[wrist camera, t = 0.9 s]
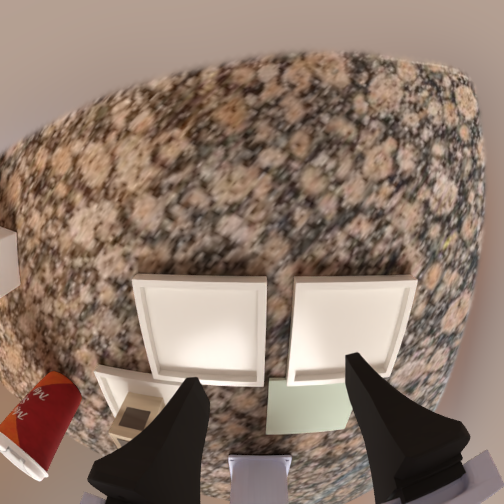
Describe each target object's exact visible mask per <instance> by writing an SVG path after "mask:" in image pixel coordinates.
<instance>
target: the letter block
mask: <svg viewBox="0 0 504 504" xmlns="http://www.w3.org/2000/svg"><path fill="white" fill-rule="evenodd" d="M164 407H165V403H164V399H163V398H161V397H154V396H148V395H142V394H137V393H132V392H128V394H127V396H126V397H125V399H124V401H123V403H122V405H121V407H120V409H119V411H118V413H117V415H116V417H115V419H114V421H113V424H112V426H111V428H110V430H109V432H108V433H109V435H110V436H111V438H112V439H113V441H114V443H115V444H116V446H117V447H118V449H119V448H121V447H122V446H124V445H125V444H127V443H128V442H129V441H131V440H132V439H133V438H134V437H136V436H137V435H138V434H139V433H141V432H142V431H143V430H144V429H145V428H146V427H147V426H148V425H149V424H150V423H151V422H152V421H153V420H154V419H155V418H156V416H157V415H158V414H159V413H160V412H161V411H162V409H163V408H164Z"/></svg>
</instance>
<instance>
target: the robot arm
mask: <svg viewBox="0 0 504 504" xmlns="http://www.w3.org/2000/svg"><path fill="white" fill-rule="evenodd" d="M345 385H346V389H347V393H348V397H349V400H350V403H351V406H352V408H353V411H354V414H355V416H356V419H357V422H358V424H359V427H360V429H361V432H362V435H363V438H364V441H365V446H366V450H367V454H368V459H369V464H370V469H371V475H372V481H373V487H374V495H375V503H376V504H480V503H482V502H483V501H485V500H486V499H488V498H489V497H491V496H492V495H493V494H495V493H496V492H497V491H498V490H500V489H501V488H503V486H504V483H503V481H502V479H501V476H500V474H499V472H498V470H497V468H496V466H495V464H494V461H493V459H492V457H491V456H490V453H489V452H488V450H485V451H483V452H482V453H480V454H479V455H477V456H475V457H474V458H473V459H471V460H469V461H467V462H466V463H465V464H464V465H462V463H461V460H462V458H463V457H462V455H461V451H462V450H463V449H464V448H465V446H466V445H467V444H468V442H469V440H470V434H469V433H468V431H467V429H466V428H465V426H464V425H463V424H462V422H460V421H457V420H454V419H450V418H447V417H444V416H442V415H439V414H437V413H434V412H432V411H430V410H428V409H426V408H424V407H422V406H421V405H419V404H417V403H415V402H414V401H412V400H410V399H409V398H407V397H406V396H405V395H403V394H402V393H400V392H399V391H398V390H396V389H395V388H394V387H393V386H392V385H390V384H389V383H388V382H387V381H386V380H385V379H384V378H382V377H381V376H380V375H379V374H378V373H377V372H376V371H375V370H374V369H373V368H372V367H371V366H370V365H369V364H368V363H367V361H366V360H365V359H364V358H363V357H362V356H361V355H360V353H358V352H355V353H351V354H347V355H345ZM209 412H210V401H209V399H208V397H207V395H206V393H205V391H204V389H203V387H202V385H201V383H200V381H199V379H198V377H188V378H186V379H185V380H184V382H183V383H182V384H181V386H180V387H179V388H178V390H177V391H176V392H175V394H174V395H173V397H172V398H171V399H170V400H169V402H168V403H167V404H166V406H165V407H164V408H163V409H162V411H161V412H160V413H159V414H158V415H157V416H156V418H155V419H154V420H153V421H152V422H151V423H150V424H149V425H148V426H147V427H146V428H145V429H144V430H143V431H142V432H141V433H139V434H138V435H137V436H136V437H134V438H133V439H132V440H131V441H129V442H128V443H127V444H125V445H124V446H122V447H121V448H119V449H117V450H116V451H114V452H112V453H111V454H109V455H107V456H105V457H103V458H101V459H99V460H96V461H95V462H94V464H93V466H92V469H91V471H90V474H89V476H88V478H87V479H88V482H89V483H90V484H91V485H92V486H93V487H95V488H96V489H98V490H99V491H100V492H102V493H104V494H105V495H107V499H106V500H105V499H103V498H100V497H98V496H95V495H92V494H89V493H87V492H84V494H83V497H82V499H81V502H80V504H200V474H201V460H202V453H203V448H204V443H205V438H206V433H207V428H208V422H209ZM291 460H292V456H291V455H268V456H254V455H229V456H228V461H229V468H230V475H231V481H232V482H231V494H230V504H288V488H287V476H288V472H289V468H290V464H291Z"/></svg>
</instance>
